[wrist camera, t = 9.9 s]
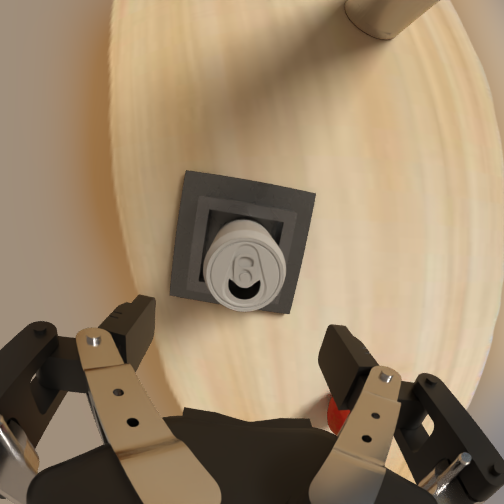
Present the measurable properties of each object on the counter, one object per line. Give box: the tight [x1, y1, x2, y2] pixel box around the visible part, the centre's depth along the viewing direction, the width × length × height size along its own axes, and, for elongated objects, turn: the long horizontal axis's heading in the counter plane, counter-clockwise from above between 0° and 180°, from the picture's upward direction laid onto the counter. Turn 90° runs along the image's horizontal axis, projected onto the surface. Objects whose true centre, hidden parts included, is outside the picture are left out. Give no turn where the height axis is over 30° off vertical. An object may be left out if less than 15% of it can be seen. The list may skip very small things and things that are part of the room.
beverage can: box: [203, 218, 286, 312], centre depth 25 cm, size 6×6×12 cm
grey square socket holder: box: [170, 170, 316, 314], centre depth 30 cm, size 15×15×4 cm
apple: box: [327, 397, 350, 435], centre depth 33 cm, size 8×8×11 cm
